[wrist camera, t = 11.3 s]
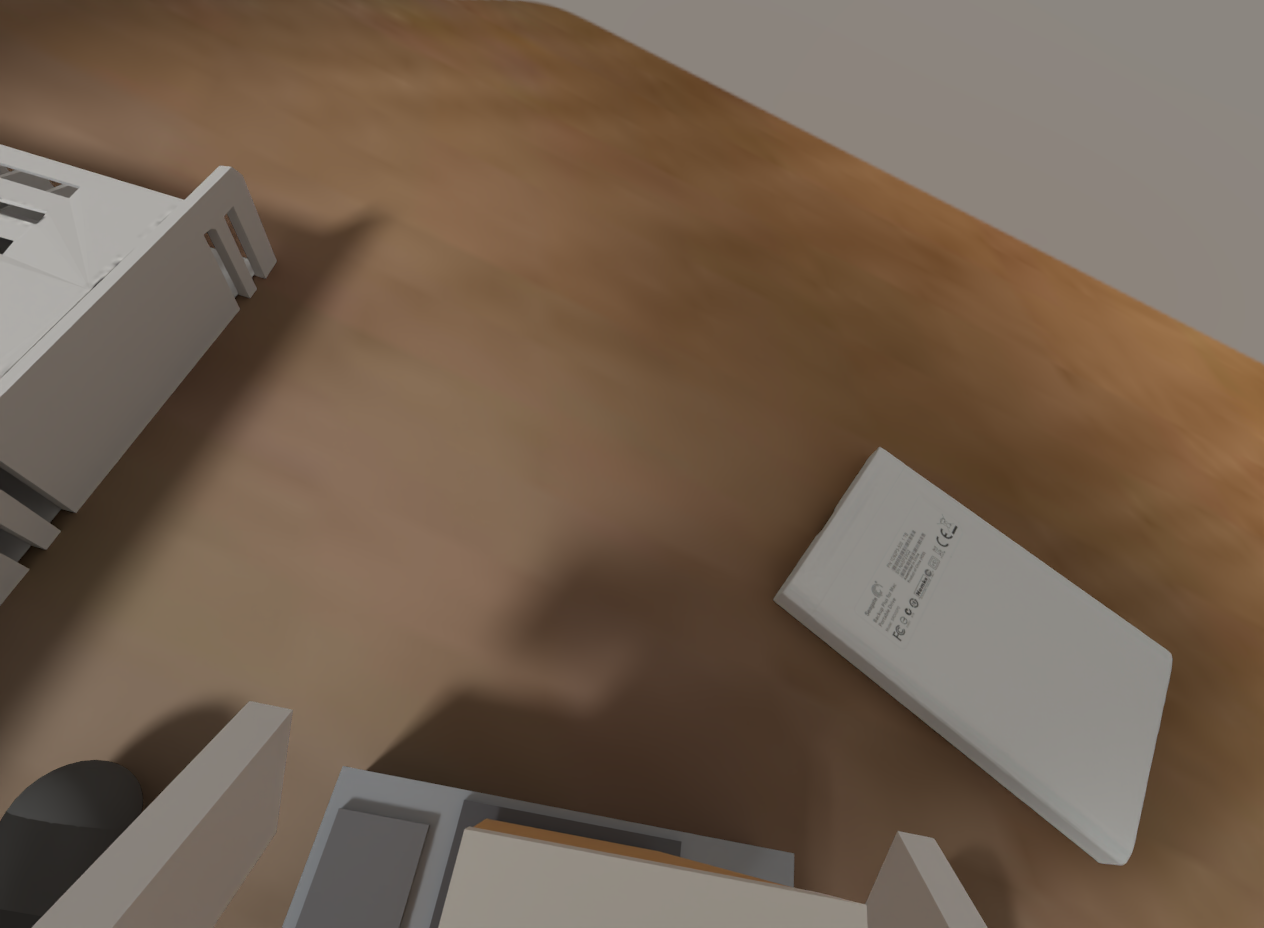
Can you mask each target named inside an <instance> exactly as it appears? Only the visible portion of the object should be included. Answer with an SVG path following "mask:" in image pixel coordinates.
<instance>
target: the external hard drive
mask: <svg viewBox="0 0 1264 928" xmlns="http://www.w3.org/2000/svg"><path fill="white" fill-rule="evenodd" d="M773 601H774V602H775V603H777V604H778V605H779V606H781V607H782V608H783V609H784V610H786V611H787V612H788V613H789V614H790V615H792V616H793V617H794V618H795V619H797V620H798V621H799V622H801V623H802V624H803V625H804V626H805V627H807V628H808V629H809V630H810V631H812V632H813V633H814V634H815V635H817V636H818V637H819V638H820V639H822V640H823V641H824V642H825V643H827V644H828V645H829V646H830V647H832V648H833V649H834V650H835V651H836V652H838V653H839V654H840V655H841V656H843V657H844V658H845V659H846V660H848V661H849V662H850V663H851V664H853V665H854V666H855V667H856V668H858V669H859V670H860V671H861V672H863V673H864V674H865V675H866V676H868V677H869V678H870V679H871V680H872V681H874V682H875V683H876V684H877V685H879V686H880V687H881V688H882V689H884V690H885V691H886V692H887V693H889V694H890V695H891V696H892V697H894V698H895V699H896V700H897V701H898V702H900V703H901V704H902V705H903V706H905V707H906V708H907V709H908V710H910V711H911V712H912V713H913V714H915V715H916V716H917V717H918V718H920V719H921V720H922V721H923V722H925V723H926V724H927V725H928V726H930V727H931V728H932V729H933V730H935V731H936V732H937V733H938V734H940V735H941V736H942V737H943V738H945V739H946V740H947V741H948V742H949V743H951V744H952V745H953V746H954V747H956V748H957V749H958V750H959V751H961V752H962V753H963V754H964V755H966V756H967V757H968V758H969V759H971V760H972V761H973V762H974V763H976V764H977V765H978V766H979V767H980V768H982V769H983V770H984V771H985V772H987V773H988V774H989V775H990V776H992V777H993V778H994V779H995V780H996V781H998V782H999V783H1000V784H1001V785H1003V786H1004V787H1005V788H1006V789H1008V790H1009V791H1010V792H1011V793H1013V794H1014V795H1015V796H1016V797H1018V798H1019V799H1020V800H1021V801H1023V802H1024V803H1025V804H1027V805H1028V806H1029V807H1030V808H1032V809H1033V810H1034V811H1035V812H1037V813H1038V814H1039V815H1040V816H1041V817H1043V818H1044V819H1045V820H1046V821H1048V822H1049V823H1050V824H1051V825H1053V826H1054V827H1055V828H1056V829H1058V830H1059V831H1060V832H1061V833H1063V834H1064V835H1065V836H1066V837H1068V838H1069V839H1070V840H1071V841H1073V842H1074V843H1075V844H1076V845H1078V846H1079V847H1080V848H1081V849H1083V850H1084V851H1085V852H1086V853H1088V854H1089V855H1090V856H1091V857H1093V858H1094V859H1095V860H1096V861H1097V862H1098V863H1101V864H1114V865H1121V866H1122V865H1124V864H1126V863H1127V861H1128V859H1129V858H1130V856H1131V854H1132V851H1133V848H1134V844H1135V841H1136V835H1137V829H1138V825H1139V821H1140V816H1141V811H1142V807H1143V802H1144V798H1145V793H1146V788H1147V782H1148V777H1149V772H1150V768H1151V764H1152V759H1153V755H1154V750H1155V744H1156V740H1157V734H1158V732H1159V728H1160V722H1161V717H1162V713H1163V707H1164V703H1165V699H1166V693H1167V689H1168V684H1169V681H1170V674H1171V670H1172V661H1173V659H1172V654H1171V653H1170V652H1169V651H1168V650H1166V649H1165V648H1164V647H1162V646H1161V645H1159V644H1158V643H1157V642H1155V641H1154V640H1152V639H1151V638H1149V637H1148V636H1147V635H1145V634H1144V633H1143V632H1141V631H1140V630H1138V629H1137V628H1136V627H1134V626H1133V625H1131V624H1130V623H1128V622H1127V621H1126V620H1124V619H1123V618H1121V617H1120V616H1119V615H1117V614H1116V613H1114V612H1113V611H1111V610H1110V609H1109V608H1107V607H1106V606H1104V605H1103V604H1101V603H1100V602H1099V601H1097V600H1096V599H1094V598H1093V597H1092V596H1090V595H1089V594H1087V593H1086V592H1085V591H1083V590H1082V589H1080V588H1079V587H1078V586H1076V585H1075V584H1073V583H1072V582H1070V581H1069V580H1068V579H1066V578H1065V577H1063V576H1062V575H1061V574H1059V573H1058V572H1056V571H1055V570H1053V569H1052V568H1051V567H1049V566H1048V565H1046V564H1045V563H1044V562H1042V561H1041V560H1039V559H1038V558H1037V557H1035V556H1034V555H1032V554H1031V553H1030V552H1028V551H1027V550H1025V549H1024V548H1023V547H1021V546H1020V545H1018V544H1017V543H1015V542H1014V541H1013V540H1011V539H1010V538H1008V537H1007V536H1006V535H1004V534H1003V533H1001V532H1000V531H999V530H997V529H996V528H994V527H993V526H991V525H990V524H989V523H987V522H986V521H984V520H983V519H982V518H980V517H979V516H977V515H976V514H975V513H973V512H972V511H970V510H969V509H968V508H966V507H965V506H963V505H962V504H961V503H959V502H958V501H956V500H955V499H953V498H952V497H951V496H949V495H948V494H946V493H945V492H944V491H942V490H941V489H939V488H938V487H936V486H935V485H934V484H932V483H931V482H929V481H928V480H926V479H925V478H924V477H922V476H921V475H919V474H918V473H916V472H915V471H914V470H912V469H911V468H909V467H908V466H906V465H905V464H904V463H903V462H901V461H900V460H899V459H897V458H896V457H894V456H893V455H891V454H890V453H889V452H887V451H886V450H884V449H883V448H881V447H879V448H878V449H877V450H876V451H875V452H874V453H873V454H871V456H870V457H869V458H868V459H867V461H866V462H865V464H864V465H863V467H862V468H861V470H860V471H859V473H858V474H857V476H856V477H855V479H854V480H853V482H852V483H851V485H850V486H849V488H848V489H847V491H846V492H845V494H844V495H843V497H842V498H841V500H840V501H839V503H838V504H837V506H836V507H835V509H834V513H833V514H832V516H831V517H830V519H829V520H828V522H827V523H826V524H825V526H824V527H823V529H822V530H821V531H820V533H819V534H818V535H817V536H816V537H815V538H814V540H813V541H812V542H811V544H810V545H809V547H808V548H807V550H806V551H805V553H804V554H803V556H802V557H801V559H800V560H799V562H798V563H797V565H796V566H795V568H794V569H793V571H792V572H791V574H790V575H789V576H788V578H787V579H786V581H785V582H784V584H783V585H782V587H781V588H780V590H779V591H778V593H777V594H776V596H775V597H774V599H773Z"/></svg>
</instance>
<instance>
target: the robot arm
mask: <svg viewBox="0 0 1264 928" xmlns="http://www.w3.org/2000/svg"><path fill="white" fill-rule="evenodd" d="M292 713H293V710H292V709H287V708H282V707H277V706H272V705H267V704H262V703H257V702H252V701H249V702H248V703H247V704H246V705H245V706H244V707H243V708H242V709H241V710H240V711H239V712H238V713H237V714H236V715H235V716H234V718H233V719H232V720H231V721H230V722H229V723H228V724H227V725H226V726H225V727H224V728H223V729H222V730H221V731H220V732H219V733H218V734H217V735H216V736H215V737H214V738H213V739H212V740H211V741H210V743H209V744H208V745H207V746H206V747H205V748H204V749H203V750H202V751H201V752H200V753H199V754H198V755H197V756H196V757H195V758H194V759H193V760H192V761H191V762H190V763H189V764H188V765H187V766H186V767H185V769H184V770H183V771H182V772H181V773H180V774H179V775H178V776H177V777H176V778H175V779H174V780H173V781H172V782H171V783H170V784H169V785H168V786H167V787H166V788H165V789H164V790H163V791H162V792H161V793H160V795H159V796H158V797H157V798H156V799H155V800H154V801H153V802H152V803H151V804H150V805H149V806H148V807H147V808H146V809H145V810H144V811H143V812H142V813H141V814H140V815H139V816H138V817H137V818H136V819H135V821H134V822H133V823H132V824H131V825H130V826H129V827H128V828H127V829H126V830H125V831H124V832H123V833H122V834H121V835H120V836H119V837H118V838H117V839H116V840H115V841H114V842H113V843H112V844H111V845H110V847H109V848H108V849H107V850H106V851H105V852H104V853H103V854H102V855H101V856H100V857H99V858H98V859H97V860H96V861H95V862H94V863H93V864H92V865H91V866H90V867H89V868H88V869H87V870H86V871H85V873H84V874H83V875H82V876H81V877H80V878H79V879H78V880H77V881H76V882H75V883H74V884H73V885H72V886H71V887H70V888H69V889H68V890H67V891H66V892H65V893H64V894H63V895H62V896H61V897H60V899H59V900H58V901H57V902H56V903H55V904H54V905H53V906H52V907H51V908H50V909H49V910H48V911H47V912H46V913H45V914H44V915H43V916H38V915H32V914H26V913H20V912H14V911H8V910H2V909H0V928H213V927H214V925H215V924H216V922H217V921H218V919H219V918H220V916H221V915H222V913H223V912H224V910H225V909H226V907H227V906H228V904H229V903H230V901H231V900H232V898H233V897H234V895H235V894H236V892H237V891H238V889H239V888H240V886H241V885H242V883H243V882H244V880H245V879H246V877H247V876H248V874H249V873H250V871H251V870H252V868H253V867H254V865H255V864H256V862H257V861H258V859H259V858H260V856H261V855H262V853H263V852H264V850H265V849H266V847H267V846H268V844H269V843H270V841H271V840H272V838H273V837H274V835H275V834H276V831H277V824H278V816H279V809H280V802H281V794H282V787H283V779H284V772H285V765H286V757H287V750H288V742H289V735H290V728H291V720H292ZM865 905H867V925H868V928H987V926H986V924H985V923H984V921H983V919H982V917H981V916H980V914H979V912H978V911H977V909H976V907H975V906H974V904H973V902H972V901H971V899H970V897H969V896H968V894H967V892H966V891H965V889H964V887H963V886H962V884H961V882H960V881H959V879H958V877H957V876H956V874H955V872H954V871H953V869H952V867H951V866H950V864H949V862H948V861H947V859H946V857H945V856H944V854H943V852H942V851H941V849H940V847H939V846H938V844H937V842H936V841H935V839H934V838H931V837H926V836H921V835H916V834H911V833H906V832H901V831H897V833H896V835H895V837H894V840H893V842H892V844H891V847H890V849H889V851H888V853H887V856H886V858H885V860H884V863H883V865H882V867H881V869H880V872H879V874H878V876H877V878H876V881H875V883H874V885H873V888H872V890H871V892H870V894H869V897H868V899H867V901H866V904H865Z"/></svg>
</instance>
